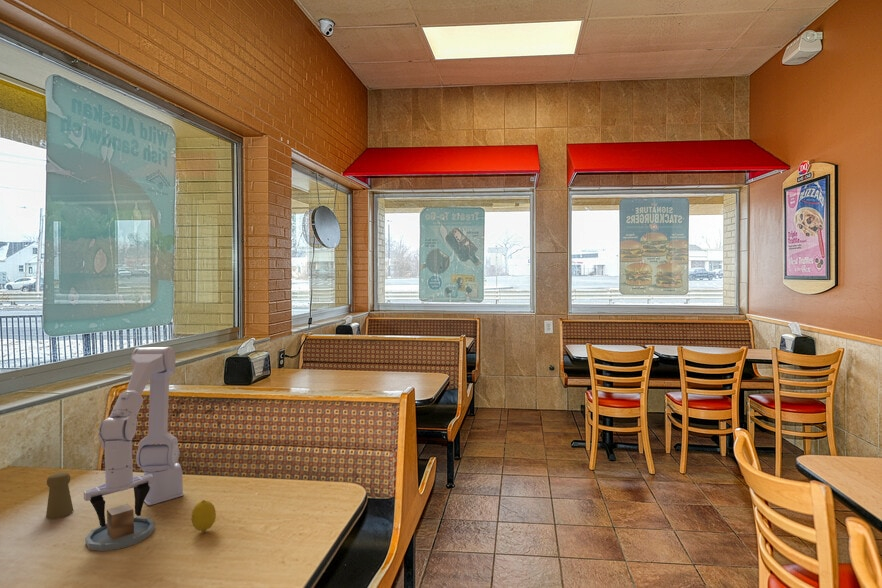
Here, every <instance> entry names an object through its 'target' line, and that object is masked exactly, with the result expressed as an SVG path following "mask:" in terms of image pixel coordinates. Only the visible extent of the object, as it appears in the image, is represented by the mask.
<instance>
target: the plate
mask: <svg viewBox="0 0 882 588" xmlns="http://www.w3.org/2000/svg"><path fill="white" fill-rule="evenodd" d="M154 530H155V522H154V521H153V520H152V518H150V517H145V516H144V517H143V516H134V533H132V534H129V535H126V536H123V537H120V538H117V539H114V540H112V538H111V537H110V536H109V535H108V533H107V522H105V526H104V527H101V525H99V526H97V527H95V528H94V529H92V530H90V532H89V533H88V534H87V535H86V537H85V540H84V541H85V543H84V544H85V545H86V544H87V545H86V546H88V547H87V548H88V550H90V549H91V550H92V551H98V552H107V550H108V551H114V550H115V549H116V550H121V548H122V549H124V547H125V548H128V547H130V546H134V545H137V544H139V543H141V542H142V541H144V540H145V539H147V538H149V537H150V536H151V535H152V534H153V532H154ZM113 549H114V550H113Z"/></svg>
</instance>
